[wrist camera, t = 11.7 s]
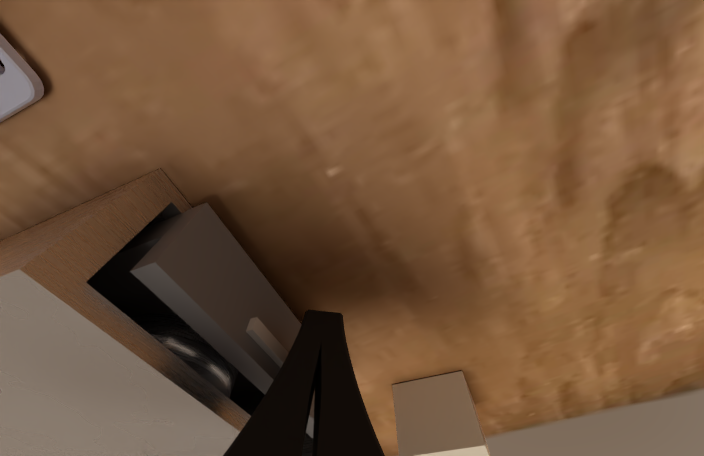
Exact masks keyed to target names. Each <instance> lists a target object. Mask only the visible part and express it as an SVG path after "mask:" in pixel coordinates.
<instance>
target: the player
mask: <svg viewBox="0 0 704 456" xmlns="http://www.w3.org/2000/svg"><path fill="white" fill-rule="evenodd" d="M191 208H192V207H191V206H190V204H189V203H188V202H187V201H186V199H185V198H184V197H183V196H182V195H181V193H180V192H179V191H178V190H177V188H176V187H175V186H174V185H173V183H172V182H171V181H170V180H169V179H168V177H167V176H166V175H165V174H164V172H163V171H162V170H161V169H158V170H156V171H154V172H151V173H149V174H147V175H145V176H143V177H140V178H138V179H136V180H134V181H132V182H129V183H127V184H125V185H123V186H121V187H118V188H116V189H114V190H112V191H110V192H107V193H105V194H103V195H101V196H99V197H96V198H94V199H92V200H90V201H88V202H85V203H83V204H81V205H79V206H77V207H74V208H72V209H70V210H68V211H66V212H64V213H61V214H59V215H57V216H55V217H53V218H50V219H48V220H46V221H44V222H42V223H39V224H37V225H35V226H33V227H31V228H28V229H26V230H24V231H22V232H20V233H17V234H15V235H13V236H11V237H9V238H6V239H4V240H2V241H0V456H223V455H224V454H225V452H226V451H227V450H228V448H229V447H230V446H231V444H232V443H233V441H234V440H235V439H236V437H237V436H238V434H239V433H240V432H241V430H242V429H243V427H244V426H245V425H246V423H247V422H248V420H249V419H250V417H251V416H250V415H249V414H248V413H246V412H245V411H244V410H243V409H242V408H240V407H239V406H238V405H237V404H235V403H234V402H233V401H232V400H230V399H229V398H228V397H227V396H226V395H224V394H223V393H222V392H221V391H219V390H218V389H217V388H216V387H214V386H213V385H212V384H211V383H209V382H208V381H207V380H206V379H205V378H203V377H202V376H201V375H200V374H198V373H197V372H196V371H195V370H193V369H192V368H191V367H190V366H188V365H187V364H186V363H185V362H184V361H182V360H181V359H180V358H179V357H177V356H176V355H175V354H174V353H172V352H171V351H170V350H169V349H167V348H166V347H165V346H164V345H163V344H161V343H160V342H159V341H158V340H156V339H155V338H154V337H153V336H151V335H150V334H149V333H148V332H147V331H145V330H144V329H143V328H142V327H140V326H139V325H138V324H137V323H135V322H134V321H133V320H132V319H130V318H129V317H128V316H127V315H126V314H124V313H123V312H122V311H121V310H119V309H118V308H117V307H116V306H114V305H113V304H112V303H111V302H109V301H108V300H107V299H106V298H105V297H103V296H102V295H101V294H100V293H98V292H97V291H96V290H95V289H93V288H92V287H91V286H90V285H89V284H87V283H86V281H88V280H89V279H90V278H91V277H92V276H93V275H94V274H95V273H96V272H97V271H98V270H99V269H100V268H101V267H102V266H104V265H105V264H106V263H107V262H108V261H109V260H110V259H111V258H112V257H113V256H114V255H115V254H116V253H117V252H118V251H120V250H121V249H122V248H123V247H124V246H125V245H126V244H127V243H128V242H129V241H130V240H131V239H132V238H133V237H134V236H136V235H137V234H138V233H139V232H140V231H141V230H142V229H144V228H146V227H149V226H151V225H154V224H156V223H159V222H161V221H164V220H166V219H169V218H171V217H174V216H176V215H179V214H181V213H184V212H186V211H187V210H189V209H191ZM312 449H313V438H312V437H310V436H309V435H308V434H307V433H306V434H305V439H304V445H303V450H302V456H312Z"/></svg>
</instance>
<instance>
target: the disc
mask: <svg viewBox="0 0 704 456" xmlns="http://www.w3.org/2000/svg"><path fill="white" fill-rule="evenodd" d="M129 318H130V319H132V320H133V321H134V322H135V323H137V324H138V325H139V326H140V327H142V328H143V329H144V330H145V331H147V332H148V333H149V334H150V335H151V336H153V337H154V338H155V339H156V340H158V341H159V342H160V343H161V344H163V345H164V346H165V347H166V348H167V349H169V350H170V351H171V352H172V353H174V354H175V355H176V356H177V357H179V358H180V359H181V360H182V361H184V362H185V363H186V364H187V365H188V366H190V367H191V368H192V369H193V370H195V371H196V372H197V373H198V374H200V375H201V376H202V377H203V378H205V379H206V380H207V381H208V382H209V383H211V384H212V385H213V386H214V387H216V388H217V389H218V390H219V391H221V392H222V393H223V394H224V395H226V396H227V397H228V398H229V397H230V395H231V392H232V389H233V386H234V383H235V380H236V377H237V374H238V370H237V369H236V368H235V367H234V366H233V365H232V364H231V363H230V362H228V361H227V360H226V359H225V358H224V357H223V356H222V355H221V354H220V353H219V352H218V351H216V350H215V349H214V348H213V347H212V346H211V345H210V344H209V343H208V342H207V341H206V340H204V339H203V338H202V337H201V336H200V335H199V334H198V333H197V332H196V331H195V330H193V329H192V328H191V327H190V326H189V325H188V324H187V323H186V322H185V321H184V320H183V319H181V318H180V317H179V316H178V315H174V314H167V313H145V314H139V315H135V316H131V317H129Z"/></svg>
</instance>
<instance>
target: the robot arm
mask: <svg viewBox="0 0 704 456" xmlns="http://www.w3.org/2000/svg"><path fill="white" fill-rule="evenodd" d="M0 60H1V61H2V63H3V64H4V67H5V69H4V68H3V67H2V66H1V65H0V122H2V121H4V120H5V119H7V118H9V117H11V116H12V115H14V114H16V113H17V112H19V111H21V110H22V109H24V108H26V107H28V106H29V105H31V104H33V103H34V102H36V101H38V100H39V99H41V97H42V96H43V95H44V87H43V84H42V81H41V80H40V78H39V77H38V75H37V74H36V73H35V72H34V71H33V69H32V68H31V67H30V66H29V65H28V64H27V63H26V62H25V60H24V59H23V58H22V57H21V56H20V55H19V54H18V53H17V51H16V50H15V49H14V48H13V47H12V46H11V45H10V44H9V42H8V41H7V40H6V39H5V38H4V37H3V36H2V35H1V34H0ZM314 390H315V399H314V426H313V449H312V456H385V455H384V453H383V451H382V448H381V446H380V444H379V441H378V439H377V437H376V434H375V432H374V429H373V427H372V424H371V422H370V419H369V416H368V414H367V411H366V408H365V405H364V403H363V400H362V397H361V394H360V391H359V388H358V384H357V381H356V378H355V374H354V371H353V367H352V364H351V360H350V356H349V352H348V347H347V343H346V337H345V332H344V324H343V315H342V314H341V313H334V312H325V311H316V310H308V311H306V312H305V316H304V319H303V322H302V325H301V327H300V330H299V332H298V335H297V337H296V339H295V341H294V343H293V346H292V348H291V349H290V351H289V353H288V355H287V357H286V359H285V361H284V363H283V365H282V367H281V369H280V370H279V372H278V374H277V376H276V377H275V379H274V381H273V382H272V384H271V386H270V387H269V389H268V391H267V392H266V394H265V396H264V397H263V399H262V400H261V402H260V404H259V405H258V407H257V408H256V410H255V411H254V413H253V414H252V416H251V417H250V419H249V420H248V422H247V423H246V425H245V426H244V427H243V429H242V430H241V432H240V433H239V434H238V436H237V437H236V439H235V440H234V441H233V443H232V444H231V446H230V447H229V448H228V450H227V451H226V452H225V454H224V455H223V456H302V450H303V445H304V439H305V434H306V429H307V424H308V419H309V415H310V410H311V405H312V400H313V395H314Z"/></svg>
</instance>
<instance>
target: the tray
mask: <svg viewBox="0 0 704 456" xmlns="http://www.w3.org/2000/svg"><path fill="white" fill-rule="evenodd" d="M86 283H87V284H89V285H90V286H91V287H92V288H93V289H95V290H96V291H97V292H98V293H100V294H101V295H102V296H103V297H105V298H106V299H107V300H108V301H109V302H111V303H112V304H113V305H114V306H116V307H117V308H118V309H119V310H121V311H122V312H123V313H124V314H126V315H127V316H128V317H131V316H135V315H139V314H145V313H167V314H174V315H178V316H179V317H180V318H181V319H183V320H184V321H185V322H186V323H187V324H188V325H189V326H190V327H191V328H192V329H193V330H195V331H196V332H197V333H198V334H199V335H200V336H201V337H202V338H203V339H204V340H206V341H207V342H208V343H209V344H210V345H211V346H212V347H213V348H214V349H215V350H216V351H218V352H219V353H220V354H221V355H222V356H223V357H224V358H225V359H226V360H227V361H228V362H230V363H231V364H232V365H233V366H234V367H235V368H236V369H237V370H238V374H237V377H236V380H235V383H234V386H233V389H232V392H231V395H230V397H229V399H230V400H232V401H233V402H234V403H235V404H237V405H238V406H239V407H240V408H242V409H243V410H244V411H245V412H246V413H248V414H249V415H250V416H252V414H253V413H254V411H255V410H256V408H257V407H258V405H259V404H260V402H261V400H262V399H263V397H264V396H265V394H266V392H267V391H268V389H269V387H270V386H271V384H272V382H273V381H274V379H275V377H276V376H277V374H278V372H279V370H280V369H281V367H282V365H283V363H284V361H285V359H286V357H287V355H288V353H289V351H290V349H291V348H292V346H293V343H294V341H295V339H296V337H297V335H298V332H299V330H300V327H301V323H300V322H299V321H298V319H297V318H296V317H295V316H294V314H293V313H292V312H291V310H290V309H289V308H288V306H287V305H286V304H285V303H284V301H283V300H282V299H281V297H280V296H279V295H278V294H277V292H276V291H275V290H274V288H273V287H272V286H271V285H270V283H269V282H268V281H267V279H266V278H265V277H264V275H263V274H262V273H261V272H260V270H259V269H258V268H257V266H256V265H255V264H254V263H253V261H252V260H251V259H250V257H249V256H248V255H247V253H246V252H245V251H244V250H243V248H242V247H241V246H240V244H239V243H238V242H237V241H236V239H235V238H234V237H233V235H232V234H231V233H230V231H229V230H228V229H227V228H226V226H225V225H224V224H223V222H222V221H221V220H220V219H219V217H218V216H217V215H216V213H215V212H214V211H213V210H212V208H211V207H210V206H209V204H208V203H207V202H206V203H203V204H201V205H199V206H196V207H194V208H191V209H189V210H187V211H186V212H184V213H181V214H179V215H176V216H174V217H171V218H169V219H166V220H164V221H161V222H159V223H156V224H154V225H151V226H149V227H146V228H144V229H142V230H141V231H140V232H139V233H138V234H137V235H136V236H134V237H133V238H132V239H131V240H130V241H129V242H128V243H127V244H126V245H125V246H124V247H123V248H122V249H121V250H120V251H118V252H117V253H116V254H115V255H114V256H113V257H112V258H111V259H110V260H109V261H108V262H107V263H106V264H105V265H104V266H102V267H101V268H100V269H99V270H98V271H97V272H96V273H95V274H94V275H93V276H92V277H91V278H90V279H89V280H88V281H86ZM314 399H315V390H314V395H313V400H312V405H311V410H310V415H309V419H308V424H307V429H306V433H307V434H308V435H309V436H310V437H312V438H313V426H314Z"/></svg>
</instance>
